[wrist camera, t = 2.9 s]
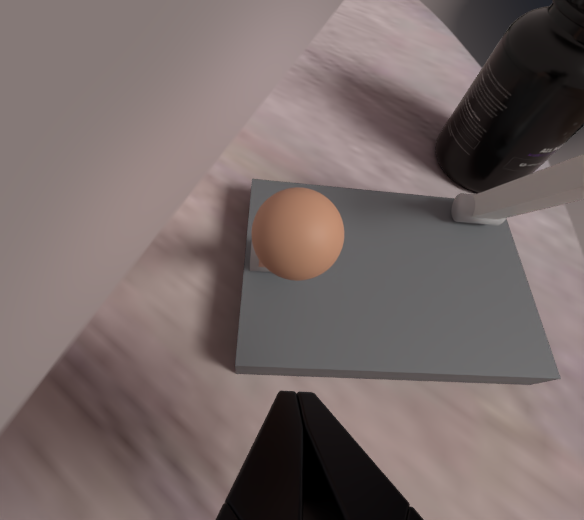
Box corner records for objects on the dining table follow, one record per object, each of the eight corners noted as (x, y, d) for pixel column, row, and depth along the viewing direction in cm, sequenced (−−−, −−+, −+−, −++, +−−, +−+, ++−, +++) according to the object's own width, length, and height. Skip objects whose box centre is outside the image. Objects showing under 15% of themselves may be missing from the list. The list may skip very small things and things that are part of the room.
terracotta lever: (297, 280, 17) (358, 284, 7) (249, 277, 17) (241, 276, 7) (300, 237, 17) (363, 181, 7) (252, 233, 17) (250, 169, 7)
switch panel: (530, 384, 18) (561, 378, 16) (235, 373, 16) (235, 365, 15) (481, 221, 23) (500, 203, 21) (251, 200, 21) (252, 178, 20)
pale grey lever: (488, 232, 20) (720, 187, 10) (450, 228, 20) (650, 179, 10) (489, 195, 20) (719, 116, 10) (452, 192, 20) (650, 106, 10)
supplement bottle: (516, 212, 24) (731, 32, 13) (424, 176, 24) (561, -24, 14) (521, 149, 27) (697, -35, 17) (440, 118, 28) (560, -79, 17)
